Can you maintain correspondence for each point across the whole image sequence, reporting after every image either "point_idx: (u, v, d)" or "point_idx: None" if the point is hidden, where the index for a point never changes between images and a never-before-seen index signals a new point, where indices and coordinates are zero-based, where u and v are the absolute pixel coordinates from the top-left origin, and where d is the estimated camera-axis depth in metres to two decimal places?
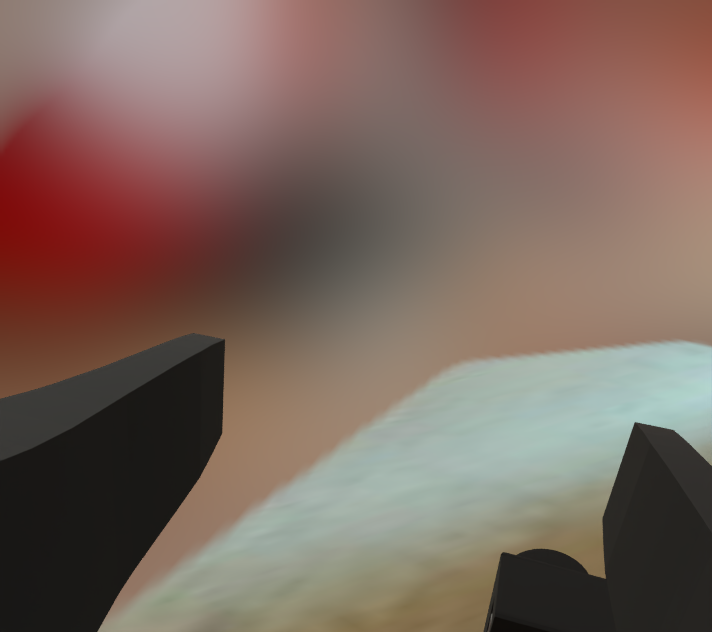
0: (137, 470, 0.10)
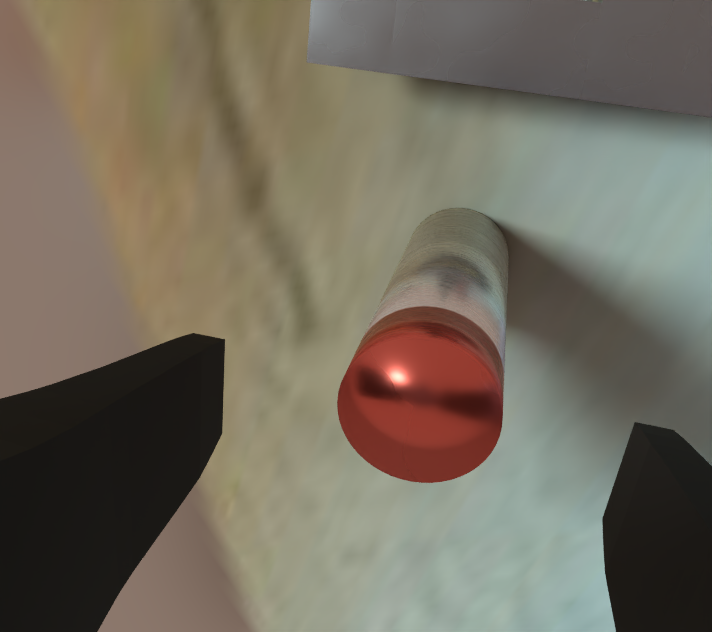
0: (137, 470, 0.10)
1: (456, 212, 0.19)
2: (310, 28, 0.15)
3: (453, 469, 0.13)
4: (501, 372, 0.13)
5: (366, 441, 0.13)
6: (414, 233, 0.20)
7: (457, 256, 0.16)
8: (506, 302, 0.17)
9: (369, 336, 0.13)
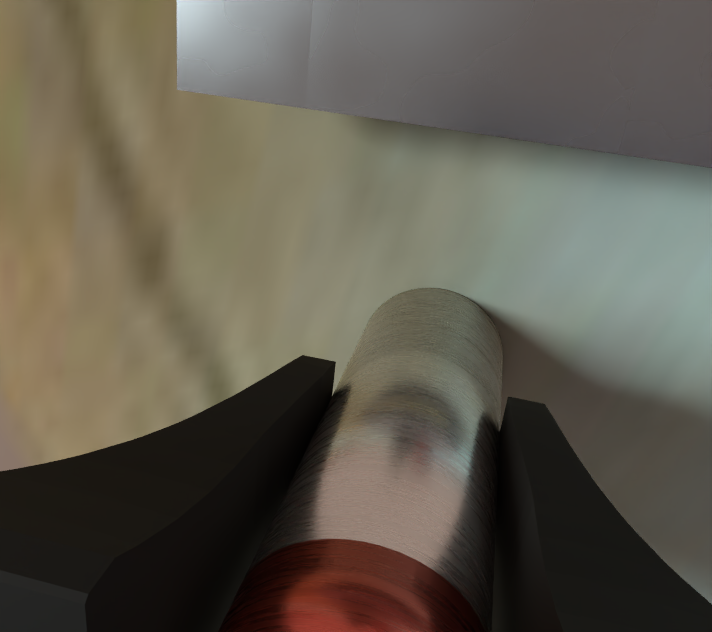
0: (270, 502, 0.10)
1: (427, 297, 0.14)
2: (179, 35, 0.09)
3: None
4: None
5: None
6: (368, 325, 0.14)
7: (420, 397, 0.10)
8: (498, 457, 0.11)
9: (243, 602, 0.07)
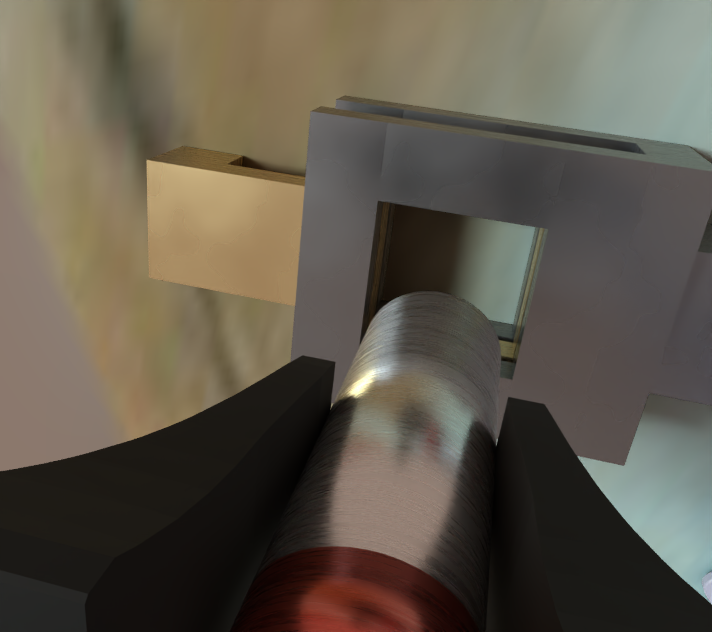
0: (270, 502, 0.10)
1: (428, 300, 0.14)
2: None
3: None
4: None
5: None
6: (370, 327, 0.14)
7: (420, 404, 0.10)
8: (494, 460, 0.11)
9: (252, 606, 0.08)
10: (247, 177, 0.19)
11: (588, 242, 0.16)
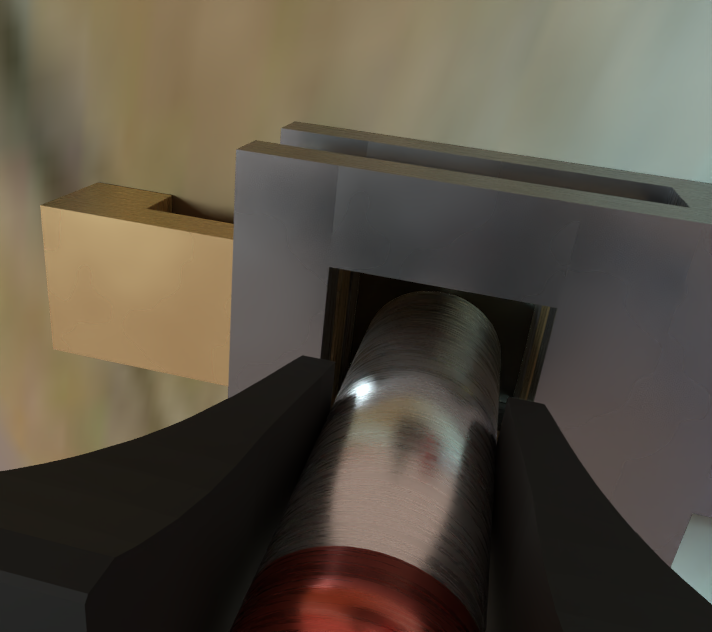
0: (270, 502, 0.10)
1: (428, 299, 0.14)
2: None
3: None
4: None
5: None
6: (370, 327, 0.14)
7: (420, 403, 0.10)
8: (494, 460, 0.11)
9: (252, 605, 0.08)
10: (167, 228, 0.15)
11: (611, 326, 0.12)
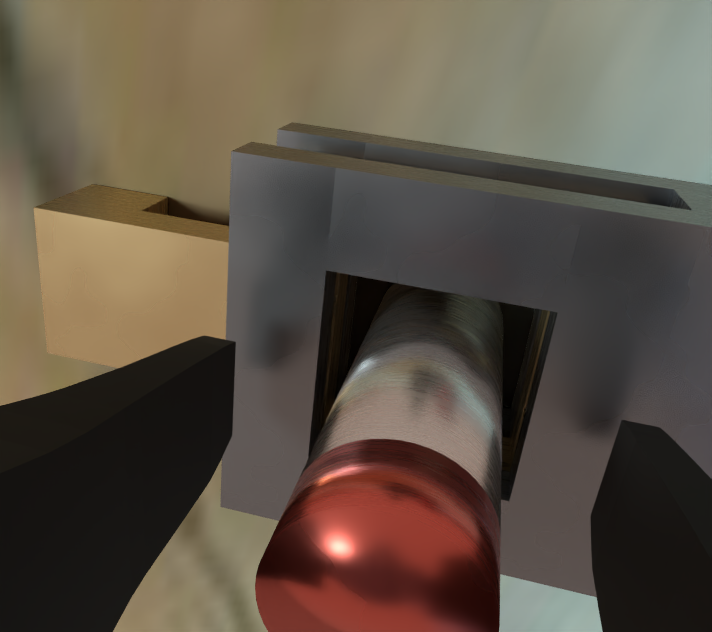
0: (150, 473, 0.10)
1: None
2: (222, 480, 0.15)
3: None
4: (497, 538, 0.09)
5: None
6: (385, 297, 0.16)
7: (438, 344, 0.12)
8: (501, 400, 0.13)
9: (305, 486, 0.09)
10: (162, 231, 0.14)
11: (613, 330, 0.12)
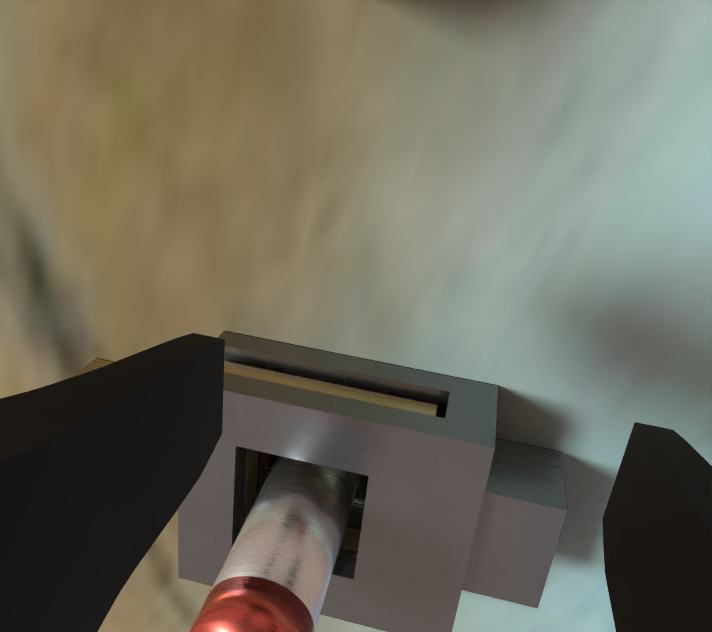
0: (137, 470, 0.10)
1: None
2: (179, 561, 0.24)
3: None
4: (307, 627, 0.17)
5: None
6: None
7: (298, 499, 0.20)
8: (342, 526, 0.21)
9: (208, 602, 0.17)
10: None
11: (400, 487, 0.20)
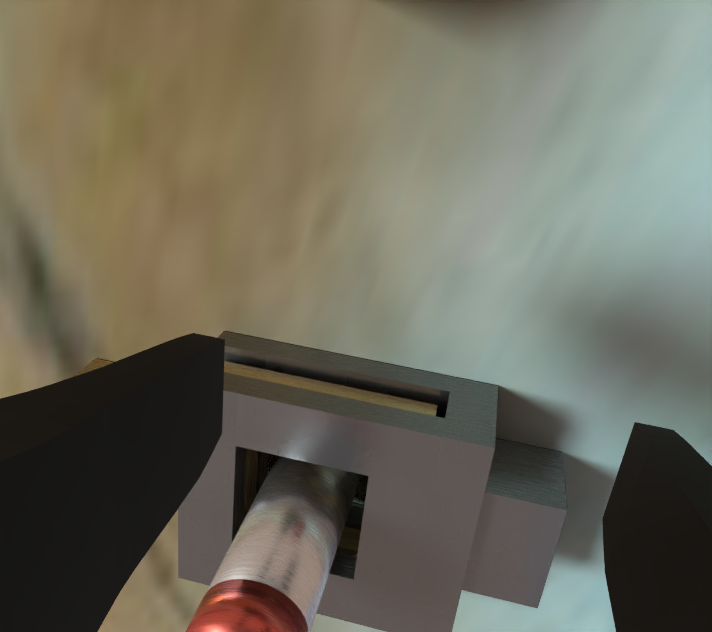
0: (137, 470, 0.10)
1: None
2: (179, 561, 0.24)
3: None
4: (300, 630, 0.17)
5: None
6: None
7: (294, 501, 0.20)
8: (339, 527, 0.21)
9: (202, 605, 0.17)
10: None
11: (400, 487, 0.20)
